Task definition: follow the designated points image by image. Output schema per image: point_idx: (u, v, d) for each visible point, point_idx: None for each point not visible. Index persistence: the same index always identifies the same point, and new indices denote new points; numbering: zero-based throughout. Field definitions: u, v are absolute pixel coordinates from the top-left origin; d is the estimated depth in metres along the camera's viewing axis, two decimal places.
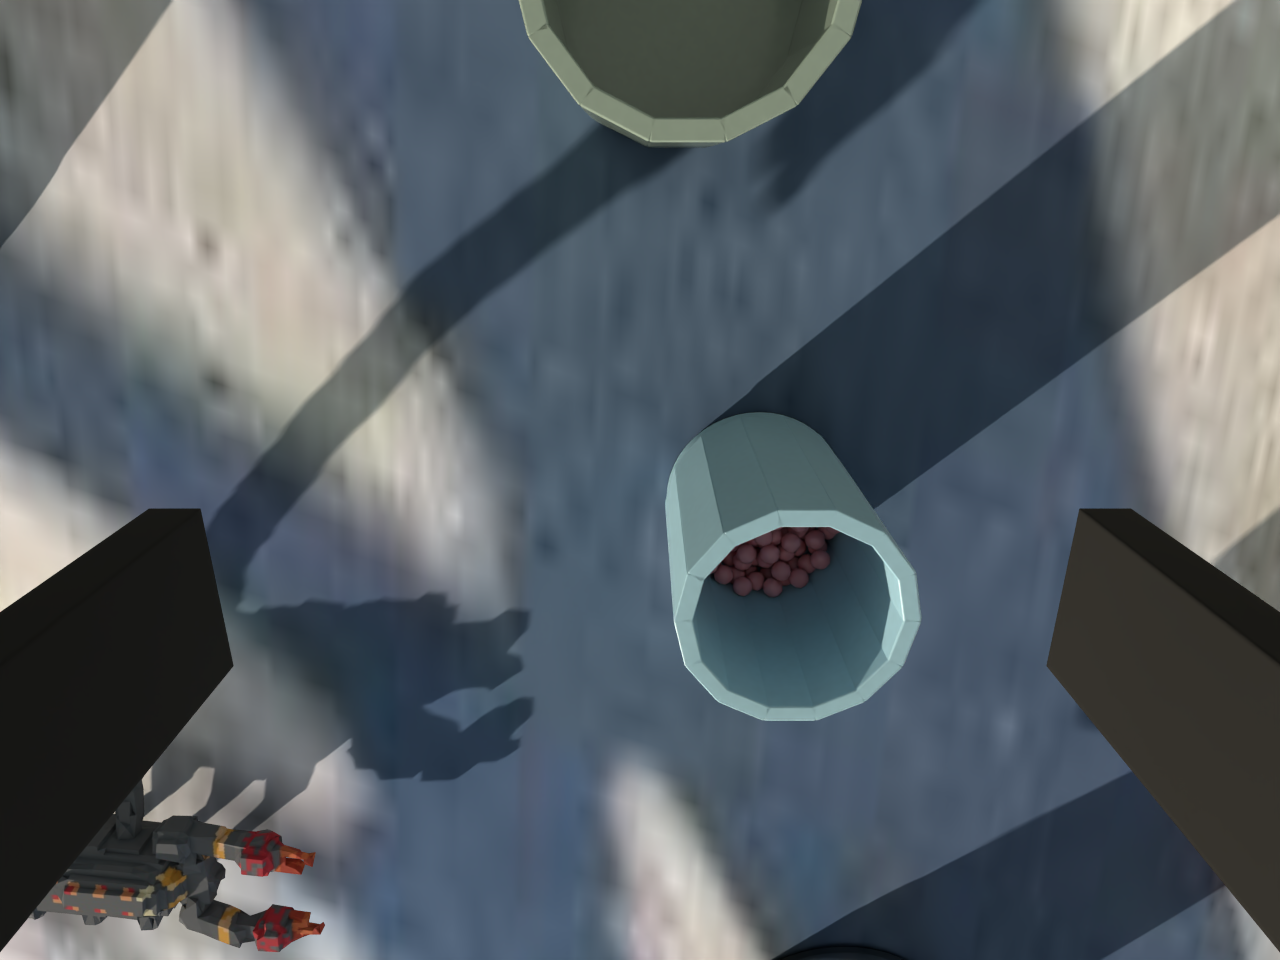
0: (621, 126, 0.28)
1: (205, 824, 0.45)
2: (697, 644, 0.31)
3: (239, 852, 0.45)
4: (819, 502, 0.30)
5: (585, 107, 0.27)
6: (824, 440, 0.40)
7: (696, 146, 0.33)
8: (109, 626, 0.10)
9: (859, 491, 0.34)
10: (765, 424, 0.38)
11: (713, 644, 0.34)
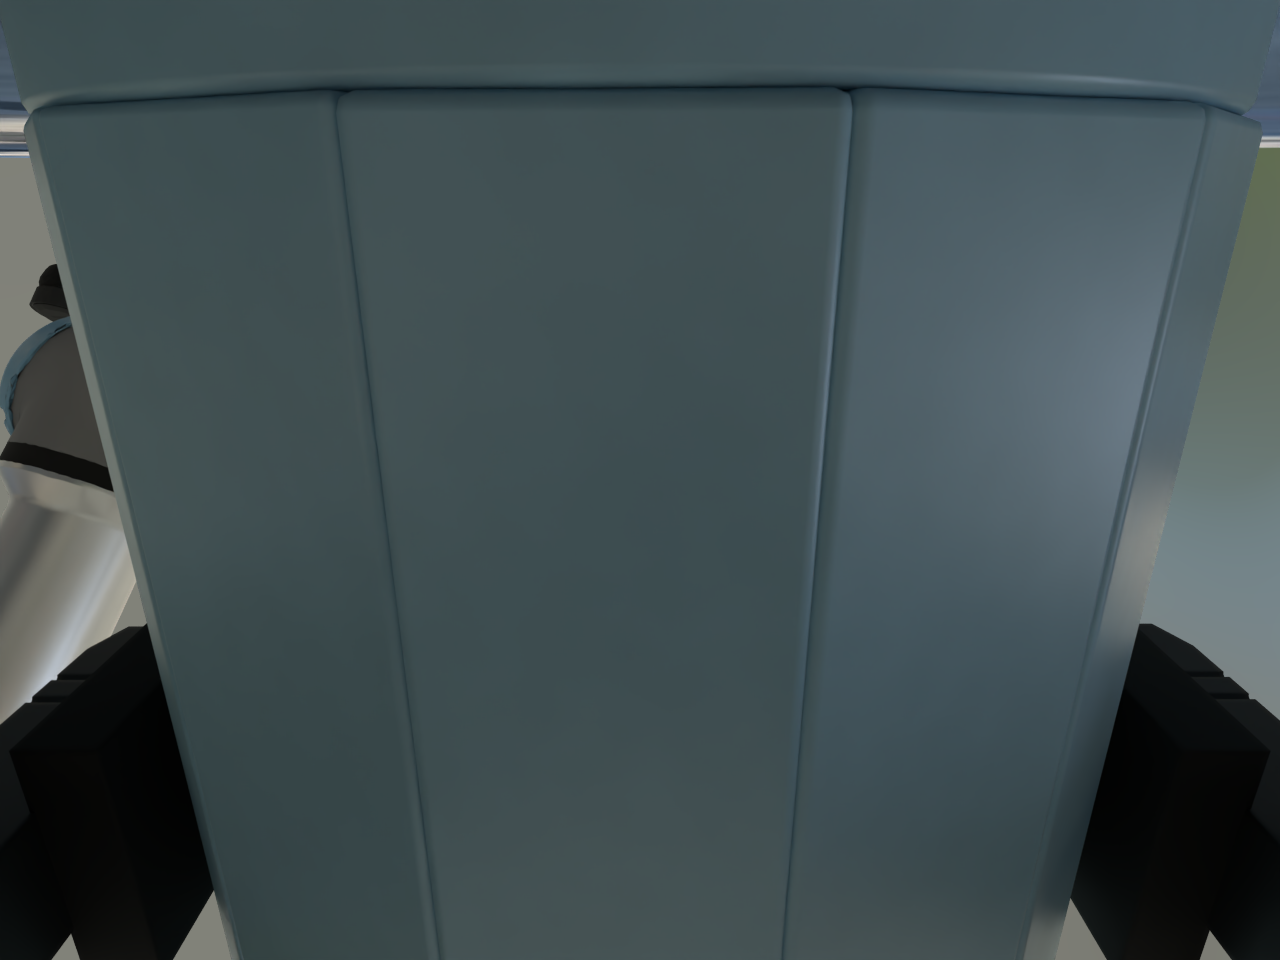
0: None
1: None
2: None
3: None
4: None
5: None
6: (76, 161, 0.04)
7: None
8: None
9: None
10: None
11: None
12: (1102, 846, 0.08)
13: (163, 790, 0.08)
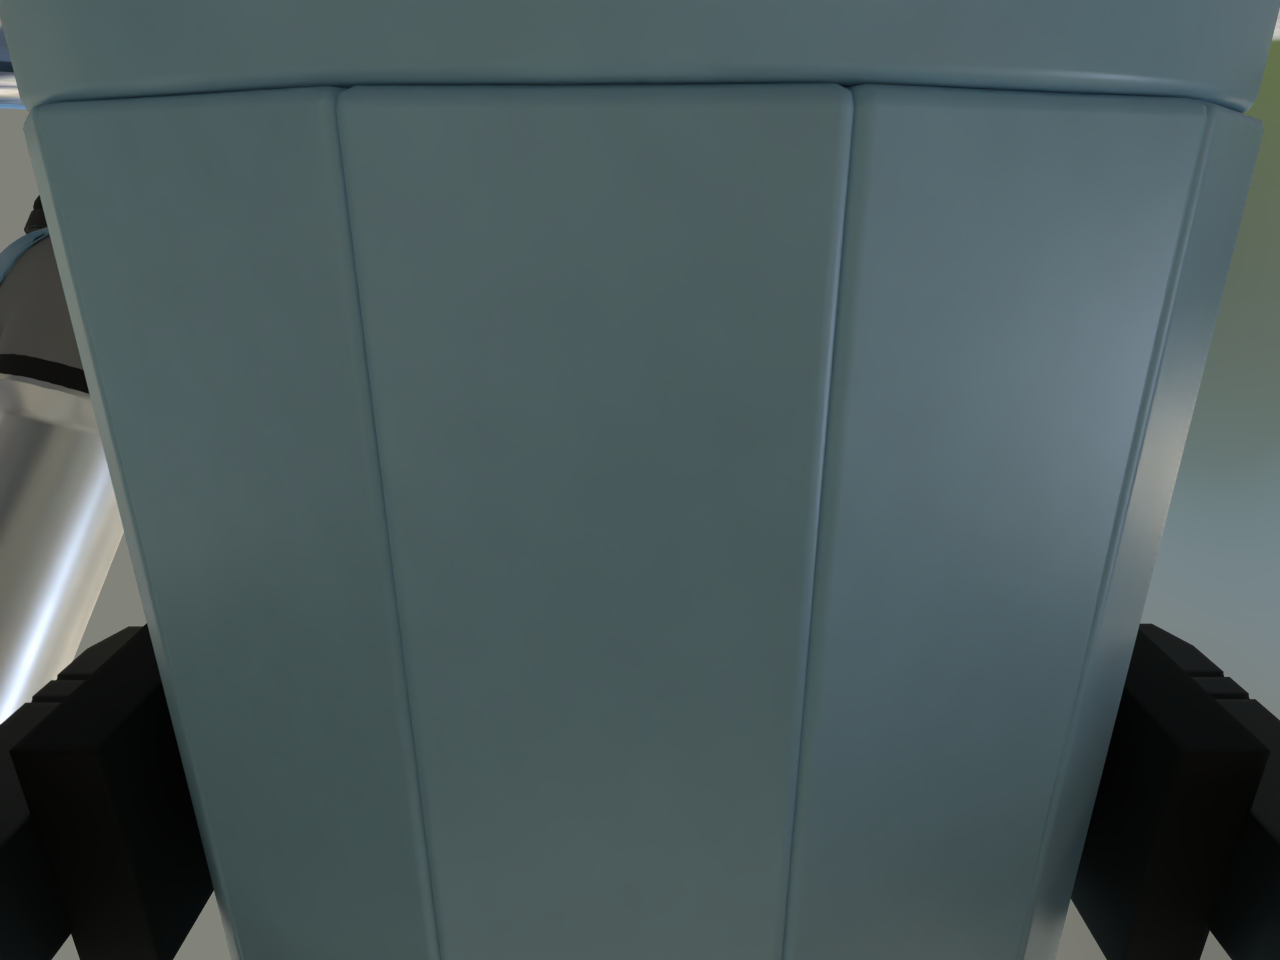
0: None
1: None
2: None
3: None
4: None
5: None
6: (75, 158, 0.04)
7: None
8: None
9: None
10: None
11: None
12: (1102, 846, 0.08)
13: (163, 790, 0.08)
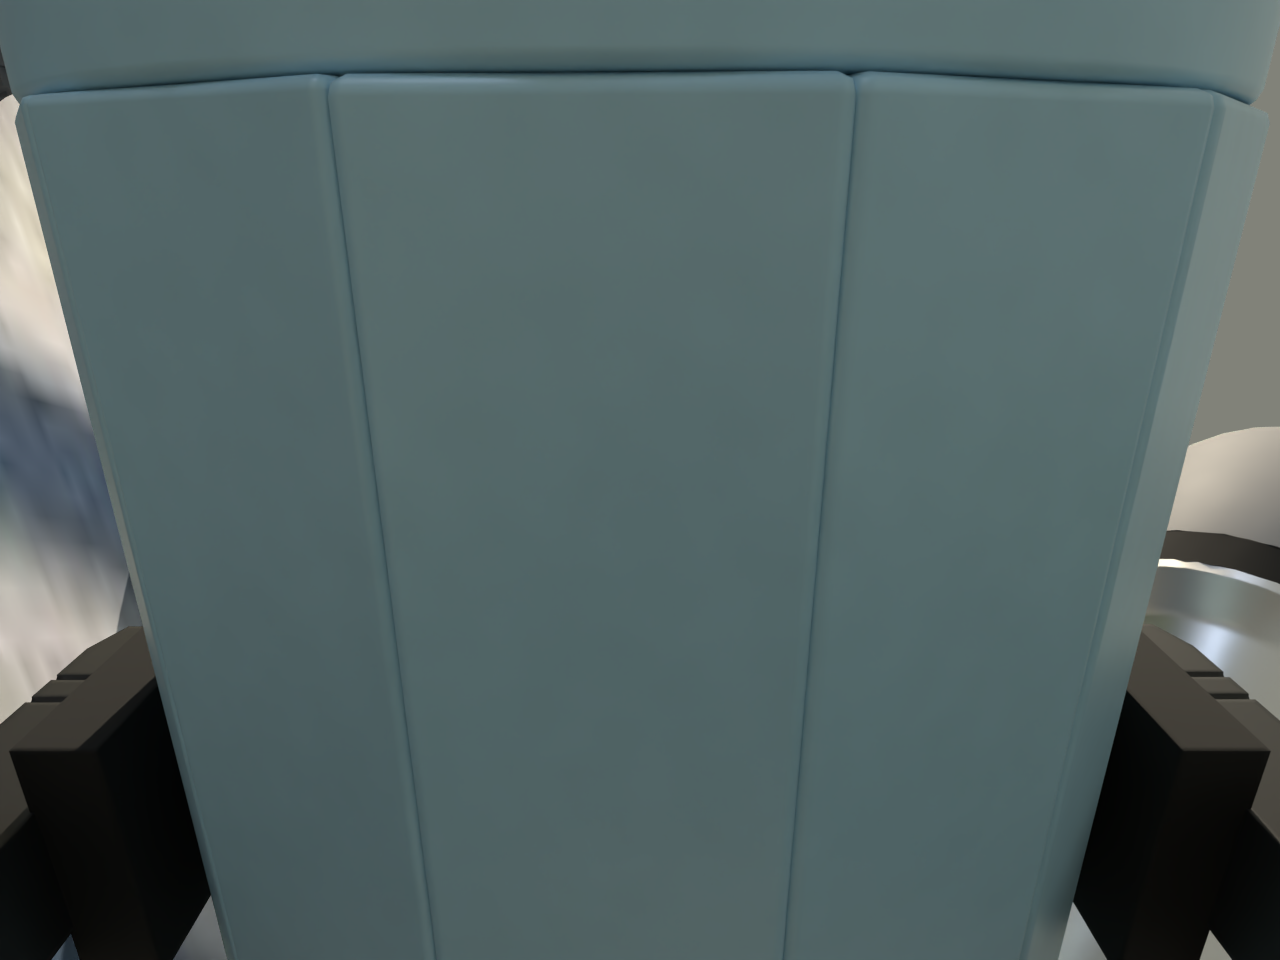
0: None
1: None
2: None
3: None
4: None
5: None
6: (64, 150, 0.04)
7: None
8: None
9: None
10: None
11: None
12: (1102, 846, 0.08)
13: (163, 790, 0.08)
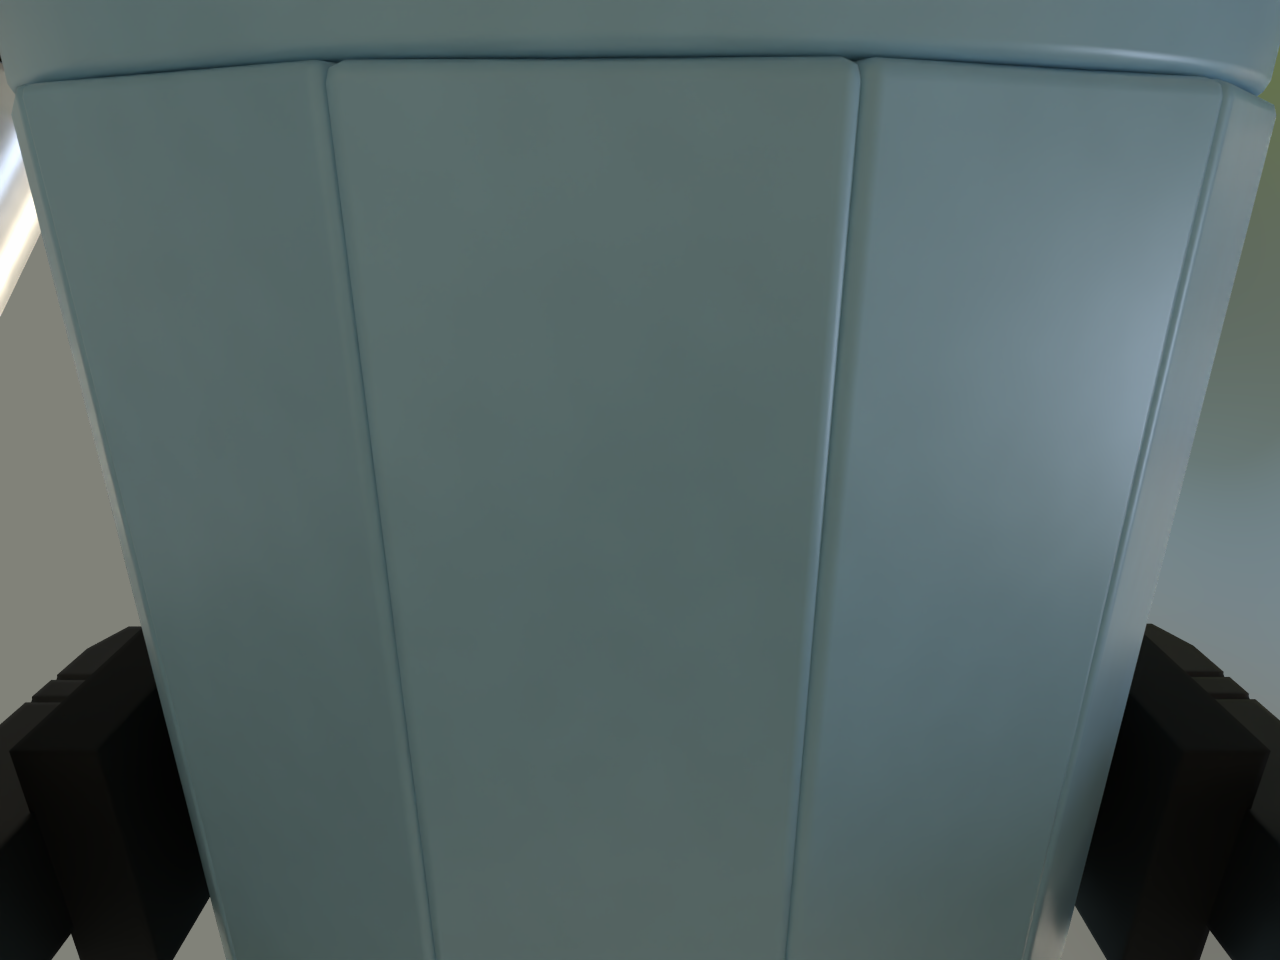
0: None
1: None
2: None
3: None
4: None
5: None
6: (60, 139, 0.04)
7: None
8: None
9: None
10: None
11: None
12: (1102, 846, 0.08)
13: (163, 790, 0.08)
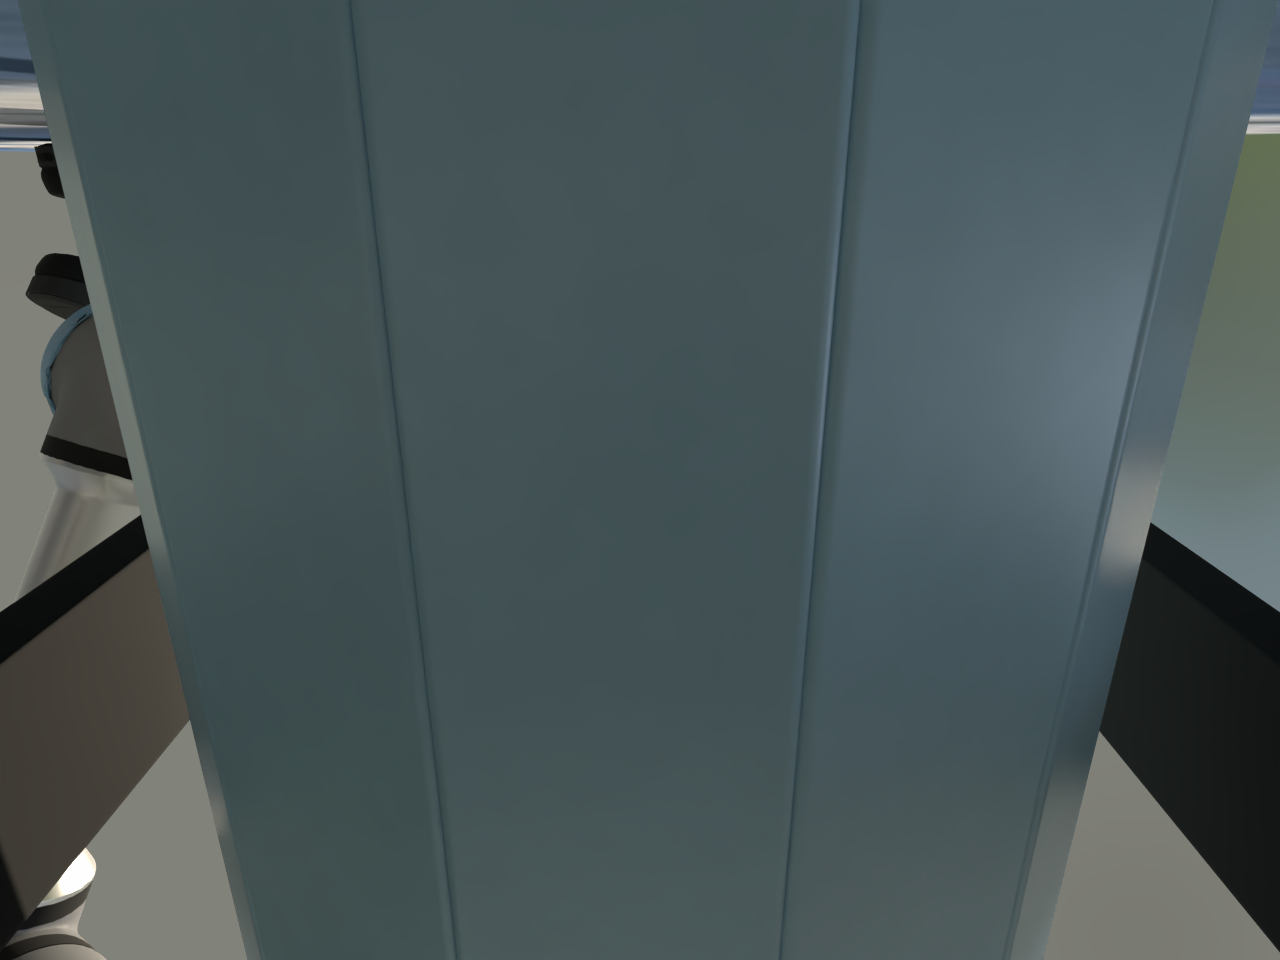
0: None
1: None
2: None
3: None
4: None
5: None
6: None
7: None
8: (109, 626, 0.10)
9: (306, 914, 0.06)
10: None
11: None
12: None
13: None
